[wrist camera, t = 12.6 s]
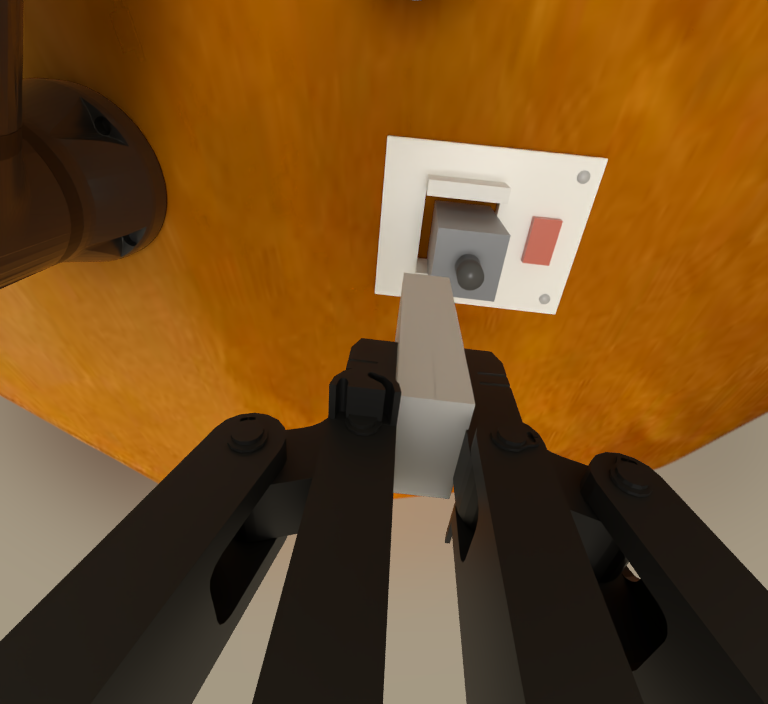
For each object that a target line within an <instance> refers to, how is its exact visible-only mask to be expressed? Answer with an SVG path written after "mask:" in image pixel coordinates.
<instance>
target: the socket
mask: <svg viewBox="0 0 768 704" xmlns="http://www.w3.org/2000/svg"><path fill="white" fill-rule="evenodd" d="M607 161H608V159H606V158H602V157H592V156H583V155H573V154H564V153H554V152H545V151H535V150H526V149H516V148H506V147H497V146H487V145H478V144H468V143H459V142H449V141H440V140H430V139H421V138H411V137H401V136H392V135H388V137H387V149H386V161H385V173H384V186H383V198H382V210H381V222H380V235H379V247H378V259H377V271H376V284H375V294H382V295H391V296H400V297H401V291H402V283H403V275H404V273H412V274H421V275H428V265H427V259H424V258H417V256H418V249H419V241H420V234H421V226H422V219H423V212H424V204H425V197H426V189H427V196H437V197H446V198H455V199H464V200H474V201H483V202H492V203H497V207H496V211H495V214H496V215H497V217H498V218H499V219H500V221H501V222H502V224H503V225H504V227H505V228H506V230H507V231H508V233H509V234H510V235H511V236H510V240H509V244H508V248H507V252H506V256H505V260H504V264H503V268H502V272H501V276H500V280H499V284H498V288H497V292H496V296H495V300H494V302H492V301H483V300H475V299H466V298H457V297H453V298H454V303H460V304H469V305H478V306H486V307H495V308H504V309H512V310H521V311H530V312H538V313H547V314H555V313H556V310H557V307H558V304H559V302H560V299H561V296H562V293H563V290H564V287H565V284H566V281H567V278H568V275H569V272H570V269H571V266H572V263H573V261H574V258H575V255H576V252H577V249H578V246H579V243H580V240H581V237H582V234H583V231H584V228H585V225H586V222H587V220H588V217H589V214H590V211H591V208H592V205H593V202H594V199H595V196H596V193H597V190H598V187H599V184H600V181H601V179H602V176H603V173H604V170H605V167H606V164H607Z"/></svg>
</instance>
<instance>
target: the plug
mask: <svg viewBox="0 0 768 704" xmlns="http://www.w3.org/2000/svg"><path fill="white" fill-rule="evenodd" d="M510 236H511V235H510V234H509V233H508V231H507V230H506V228H505V227H504V225H503V224H502V222H501V221H500V219H499V218H498V217H497V215H496V214H495V212H494V211H493V209H492V208H491V206H485V205H476V204H466V203H457V202H448V201H439V200H435V204H434V211H433V218H432V225H431V231H430V238H429V245H428V252H427V265H428V275H430V276H439V277H448V278H449V279H450V284H451V288H452V293H453V297H457V298H466V299H475V300H483V301H492V302H494V300H495V296H496V292H497V288H498V284H499V280H500V276H501V272H502V268H503V264H504V260H505V256H506V252H507V248H508V244H509V240H510Z"/></svg>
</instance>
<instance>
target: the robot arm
mask: <svg viewBox="0 0 768 704" xmlns="http://www.w3.org/2000/svg"><path fill="white" fill-rule="evenodd" d="M22 70H23V0H0V289H2V288H4V287H6V286H8V285H10V284H13V283H15V282H17V281H19V280H22V279H24V278H26V277H28V276H31V275H33V274H35V273H37V272H40V271H42V270H44V269H46V268H49V267H51V266H53V265H55V264H58V263H60V262H104V261H112V260H117V259H121V258H124V257H126V256H129V255H131V254H133V253H135V252H137V251H139V250H141V249H143V248H144V247H146V246H147V245H148V244H150V243H151V242H152V241H153V240H154V238H155V237H156V236H157V234H158V233H159V231H160V229H161V227H162V224H163V221H164V218H165V213H166V189H165V183H164V178H163V175H162V171H161V169H160V166H159V163H158V161H157V158H156V156H155V154H154V152H153V150H152V148H151V147H150V145H149V143H148V142H147V140H146V138H145V137H144V136H143V134H142V133H141V131H140V130H139V129H138V128H137V126H136V125H135V124H134V123H133V122H132V120H131V119H130V118H129V117H128V116H127V115H126V114H125V113H124V112H123V111H122V110H121V109H119V108H118V107H117V106H116V105H115V104H113V103H112V102H111V101H109V100H108V99H107V98H105V97H104V96H102V95H100V94H99V93H97V92H95V91H93V90H91V89H89V88H87V87H85V86H82V85H80V84H76V83H73V82H69V81H64V80H55V79H42V78H29V79H22ZM453 484H454V493H455V504H454V508H453V511H452V515H451V518H450V522H449V525H448V528H447V532H446V537H445V543H450V540H451V537H452V539H453V550H454V561H455V573H456V584H457V597H458V608H459V620H460V631H461V643H462V654H463V665H464V678H465V689H466V701H467V704H768V590H767V589H766V588H765V587H764V586H763V585H762V584H761V583H760V582H759V581H758V580H757V579H756V578H755V576H754V575H753V574H752V573H751V572H750V571H749V570H748V569H747V568H746V567H745V566H744V565H743V564H742V563H741V562H740V561H739V559H737V557H736V556H735V555H734V554H733V553H732V552H731V551H730V550H729V549H728V548H727V547H726V546H725V544H723V542H722V541H721V540H720V539H719V538H718V537H717V536H716V535H715V534H714V533H713V532H712V531H711V530H710V528H709V527H708V526H707V525H706V524H705V523H704V522H703V521H702V520H701V519H700V518H699V517H698V516H697V515H696V514H695V513H694V511H693V510H692V509H691V508H690V507H689V506H688V505H687V504H686V503H685V502H684V501H683V500H682V499H681V498H680V497H679V495H678V494H677V493H676V492H675V491H674V490H673V489H672V488H671V487H670V486H669V485H668V484H667V483H666V482H665V481H664V480H663V478H661V476H659V475H658V474H657V473H656V472H655V471H654V470H652V469H651V468H650V467H649V466H647V465H645V464H644V463H642V462H640V461H638V460H636V459H635V458H632V457H629V456H626V455H623V454H620V453H610V452H605V453H601V454H598V455H596V456H595V457H594V458H593V459H592V460H591V462H590V464H589V466H587V465H584V464H582V463H579V462H576V461H573V460H570V459H567V458H564V457H561V456H559V455H557V454H554V453H552V452H550V451H548V450H547V448H546V446H545V443H544V442H543V440H542V438H541V437H540V435H539V434H538V433H537V432H536V431H535V430H533V429H532V428H531V427H530V426H529V425H527V424H525V423H523V422H522V419H521V416H520V413H519V411H518V408H517V405H516V402H515V399H514V396H513V393H512V390H511V388H510V384H509V381H508V378H506V373H505V370H504V367H503V364H502V362H501V361H500V360H499V359H498V358H497V357H496V356H495V355H494V354H493V353H492V352H489V351H480V350H471V349H464V347H463V342H462V337H461V332H460V327H459V323H458V318H457V313H456V308H455V303H454V298H453V293H452V288H451V284H450V279H449V278H448V277H439V276H430V275H421V274H412V273H404V275H403V283H402V291H401V299H400V307H399V314H398V322H397V330H396V338H395V342H390V341H381V340H373V339H364V338H361V339H360V340H359V341H358V342H357V343H356V344H355V345H353V346H352V348H351V351H350V355H349V360H348V363H347V367H346V370H345V371H343V372H341V373H339V374H338V375H336V376H334V378H333V379H332V381H331V382H330V384H329V415H328V418H327V419H326V420H324V421H323V422H321V423H318V424H316V425H313V426H310V427H305V428H299V429H291V430H285V428H284V426H283V425H282V424H281V423H280V421H279V420H277V419H275V418H273V417H271V416H269V415H266V414H259V413H249V414H240V415H238V416H235V417H232V418H229V419H227V420H225V421H224V422H223V423H221V424H220V425H218V426H217V427H216V428H215V429H214V430H213V431H212V432H211V433H210V434H209V435H208V436H207V437H206V438H205V439H204V440H203V441H202V442H201V443H200V444H199V445H198V446H196V447H195V448H194V449H193V450H192V451H191V452H190V453H189V454H188V455H187V456H186V457H185V458H184V459H183V460H182V461H181V462H180V463H179V464H178V465H177V466H176V467H175V468H174V469H173V470H172V471H171V472H170V473H169V474H168V475H167V476H166V477H165V478H164V479H163V480H162V481H161V482H160V483H159V484H158V485H157V486H156V487H155V488H154V489H153V490H152V491H151V492H150V493H149V494H148V495H147V496H146V497H145V498H144V499H143V500H142V501H141V502H140V503H139V504H138V505H137V506H136V507H135V508H134V509H133V510H132V511H131V512H130V513H129V514H128V515H127V516H126V517H125V518H124V519H123V520H122V521H121V522H120V523H119V524H118V525H117V526H116V527H115V528H114V529H113V530H112V531H111V532H110V533H109V534H108V535H107V536H106V537H105V538H104V539H103V540H102V541H101V542H100V543H99V544H98V545H97V546H96V547H95V548H94V549H93V550H92V551H91V552H90V553H89V554H88V555H87V556H86V557H85V558H84V559H83V560H82V561H81V562H80V563H79V564H78V565H77V566H76V567H75V568H74V569H73V570H72V571H71V572H70V573H69V574H68V575H67V576H66V577H65V578H64V579H63V580H62V581H61V582H60V583H58V585H56V586H55V587H54V589H52V590H51V591H50V592H49V594H47V596H46V597H44V598H43V599H42V600H41V601H40V602H39V603H38V604H37V605H36V606H35V607H34V608H33V609H32V611H30V613H28V614H27V615H26V616H25V617H24V618H23V619H22V620H21V622H19V623H18V624H17V625H16V626H15V627H14V628H13V629H12V630H11V631H10V632H9V633H8V634H7V635H6V636H5V637H4V638H3V639H2V640H1V641H0V704H192V703H193V701H194V699H195V697H196V695H197V694H198V692H199V690H200V689H201V686H202V685H203V683H204V682H205V679H206V678H207V676H208V675H209V673H210V671H211V669H212V668H213V666H214V664H215V662H216V660H217V659H218V657H219V655H220V654H221V652H222V650H223V648H224V647H225V645H226V643H227V641H228V640H229V638H230V636H231V634H232V633H233V631H234V629H235V627H236V626H237V624H238V622H239V621H240V619H241V617H242V615H243V614H244V612H245V610H246V608H247V607H248V605H249V603H250V601H251V600H252V598H253V596H254V594H255V593H256V591H257V589H258V587H259V586H260V584H261V582H262V580H263V579H264V577H265V575H266V573H267V572H268V570H269V568H270V566H271V565H272V563H273V561H274V559H275V558H276V556H277V554H278V552H279V551H280V549H281V547H282V546H283V544H284V542H285V540H286V538H287V536H288V535H292V534H297V538H296V541H295V545H294V549H293V553H292V557H291V560H290V564H289V568H288V571H287V575H286V579H285V583H284V586H283V590H282V594H281V598H280V601H279V605H278V609H277V612H276V616H275V620H274V624H273V627H272V631H271V635H270V639H269V642H268V646H267V650H266V654H265V657H264V661H263V665H262V668H261V672H260V676H259V679H258V684H257V687H256V691H255V694H254V698H253V702H252V704H383V690H384V669H385V650H386V649H385V648H386V628H387V609H388V589H389V568H390V548H391V528H392V507H393V493H402V494H410V495H419V496H427V497H436V498H445V499H449V498H450V495H451V491H452V487H453ZM629 562H630V564H631V565H632V567H633V568H634V570H635V571H636V572H637V574H638V575H639V577H640V578H641V579H639V578H637V577H636V576H634V575H633V573H632V572H631V571H630V570H629V568H628V567H627V564H628V563H629Z"/></svg>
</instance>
